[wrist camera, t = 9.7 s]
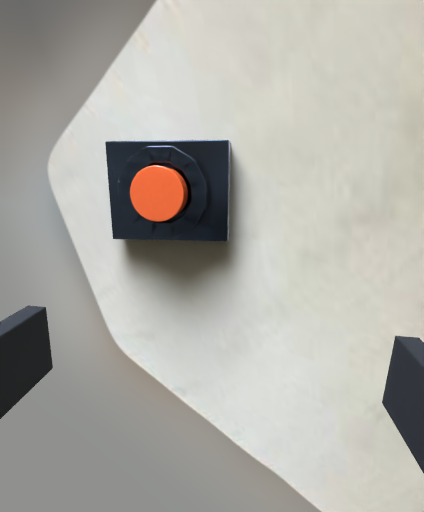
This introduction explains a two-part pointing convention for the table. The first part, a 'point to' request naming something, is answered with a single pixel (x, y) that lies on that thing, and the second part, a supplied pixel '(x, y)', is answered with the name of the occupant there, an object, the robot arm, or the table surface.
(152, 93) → the table surface
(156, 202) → the button
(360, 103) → the table surface
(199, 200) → the button box
